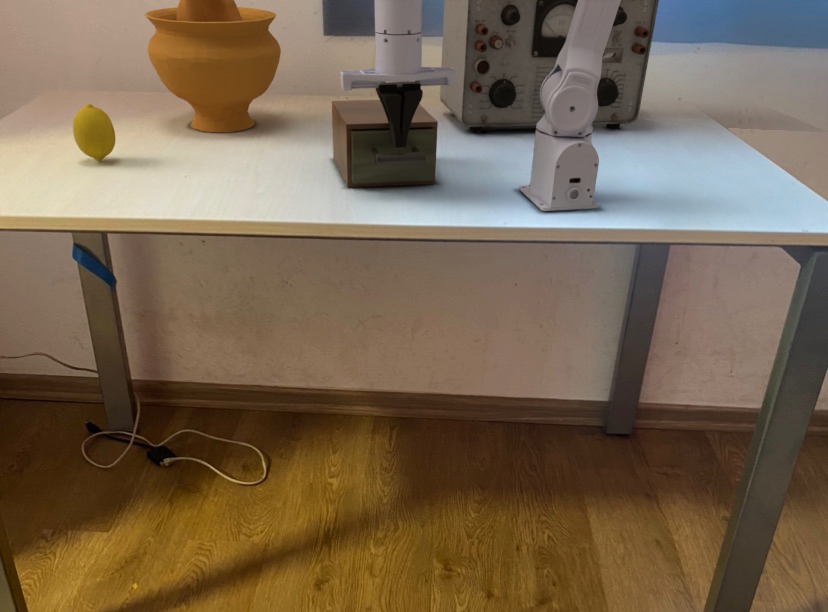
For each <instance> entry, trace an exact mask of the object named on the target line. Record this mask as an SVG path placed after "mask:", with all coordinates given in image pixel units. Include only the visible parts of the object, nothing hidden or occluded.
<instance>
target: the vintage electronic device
mask: <svg viewBox="0 0 828 612" xmlns="http://www.w3.org/2000/svg"><path fill="white" fill-rule="evenodd" d="M659 1H660V0H621V2H620V5H619V8H618V11H617V14H616V17H615V20H614V23H613V26H612V29H611V32H610V35H609V38H608V41H607V44H606V47H605V50H604V53H603V57H602V68H601V77H600V81H599V84H598V87H597V100H598V110H597V114H596V117H595V119H594V121H593V122H592V123H591V124H592V125H605V127H606V129H607V130H612V131H615V130H620V128H621V125H623V124H624V125H625V124H626V125H627V124H633V123H635V122H636V121H637V120H638V118H639V115H640V110H641V104H642V98H643V93H644V87H645V81H646V77H647V69H648V63H649V59H650V54H651V47H652V42H653V37H654V36H653V35H654V30H655V25H656V19H657V13H658V7H659V3H660V2H659ZM577 2H578V0H444V1H443V19H442V20H443V21H442V23H443V24H442V45H441V47H442V48H441V67H452V68H454V69H456V86H447V85H440V92H439V93H440V94H439V98H440V102H441V103H442V104H443V105H444V107H446V108H447V109H448V110H449V111H450V112H451V114H452V115H453V116H454V117H456V118H457V119H458V121H460V122H461V123H462V125H464V126H465V127H467V128H468V132H469V133H473V134H479V133H480V134H481V133H483V131H484V128H485V127H486V128H487V127H489V128H490V127H527V126H530V127H532V126H536V125H537V123H538V122H539V121H540V120H541V119H542V117H543V115H544V114H545V112H546V111H545V110H544V109H543V107H542V105H541V102H540V89H541V86H542V83H543V81H544V80H545V78H546V77H547V76H548V75H549V74H550V73H551V72H552V70H553V69H554V67H555V64H556V61H557V58H558V55H559V53H560V51H561V50H562V48H563V46H564V44H565V42H566V38H567V35H568V32H569V28H570V25H571V22H572V18H573V15H574V12H575V9H576V5H577Z"/></svg>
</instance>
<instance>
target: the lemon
mask: <svg viewBox="0 0 828 612" xmlns="http://www.w3.org/2000/svg"><path fill="white" fill-rule="evenodd" d="M72 133H73V138H74V141H75V143H76V145H77V147H78V148H79V150H80V151H81V152H82V153H83V154H84V155H86V156H88V157H90V158H92V159H94V160H95V161H96V162H99V163H100V162H103V160H104V159H105V158H106V157H108V155H110V154H111V153H112V152H113V150H114V148H115V145H116V131H115V128H114V125H113V122H112V120H111V118H110V116H109V115H108V113H106V112H105V111H104V110H103V109H101V108H99V107H97V106H94V105H93V104H92V103H86V104H85V106H84V107H82V108H80V109H79V110H78V111H77V112H76V113H75V115H74V117H73V123H72Z"/></svg>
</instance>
